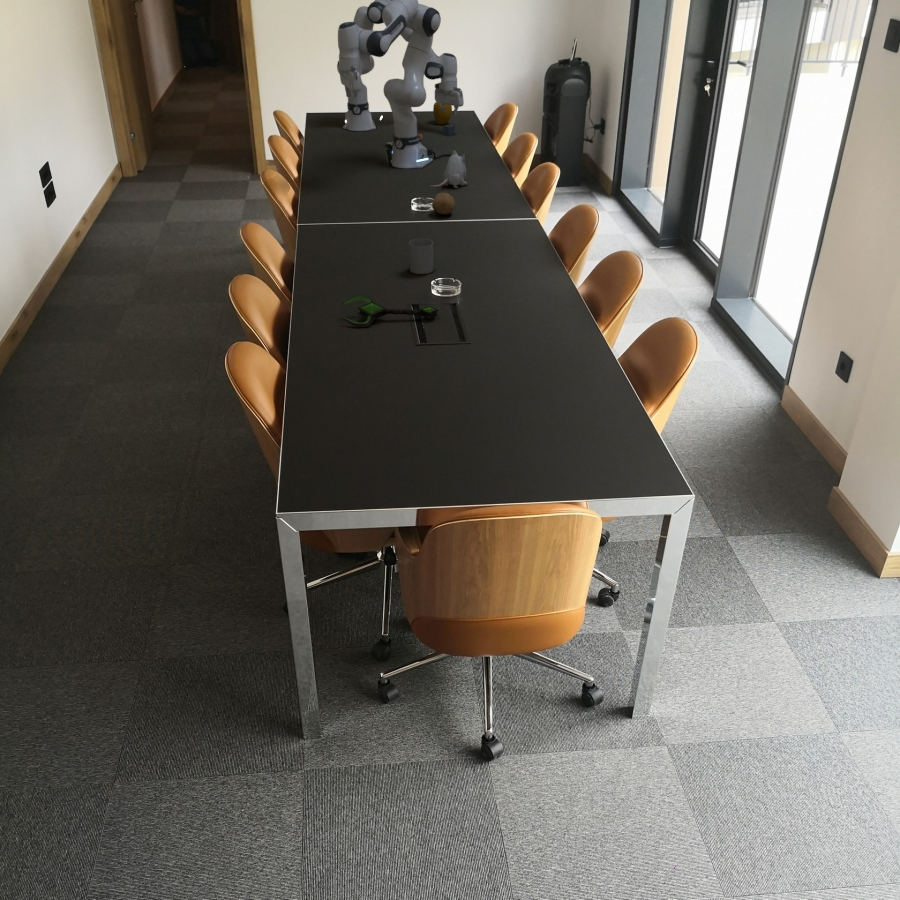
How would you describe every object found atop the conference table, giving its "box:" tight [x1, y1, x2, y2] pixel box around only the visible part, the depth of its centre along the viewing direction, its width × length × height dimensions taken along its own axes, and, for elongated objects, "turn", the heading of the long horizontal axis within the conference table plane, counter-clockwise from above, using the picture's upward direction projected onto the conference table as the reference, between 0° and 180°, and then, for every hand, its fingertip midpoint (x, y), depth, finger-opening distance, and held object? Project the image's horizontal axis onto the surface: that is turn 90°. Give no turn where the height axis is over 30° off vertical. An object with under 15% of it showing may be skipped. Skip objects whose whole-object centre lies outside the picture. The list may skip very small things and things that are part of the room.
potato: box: [431, 192, 456, 216], centre depth 360 cm, size 10×14×8 cm
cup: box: [408, 237, 434, 275], centre depth 305 cm, size 8×8×10 cm
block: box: [442, 124, 456, 137], centre depth 482 cm, size 5×4×5 cm
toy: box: [428, 149, 468, 189], centre depth 390 cm, size 9×24×15 cm, turn 137°
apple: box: [432, 101, 453, 126], centre depth 501 cm, size 11×11×13 cm
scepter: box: [341, 295, 439, 328], centre depth 271 cm, size 6×13×30 cm
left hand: (449, 112), depth 477 cm, fingers open, 8 cm apart
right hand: (351, 99), depth 378 cm, fingers open, 8 cm apart
